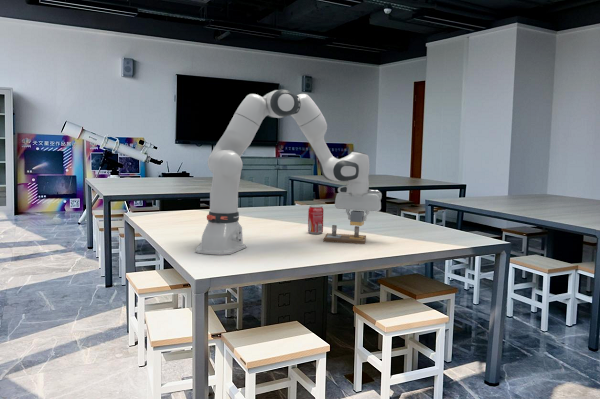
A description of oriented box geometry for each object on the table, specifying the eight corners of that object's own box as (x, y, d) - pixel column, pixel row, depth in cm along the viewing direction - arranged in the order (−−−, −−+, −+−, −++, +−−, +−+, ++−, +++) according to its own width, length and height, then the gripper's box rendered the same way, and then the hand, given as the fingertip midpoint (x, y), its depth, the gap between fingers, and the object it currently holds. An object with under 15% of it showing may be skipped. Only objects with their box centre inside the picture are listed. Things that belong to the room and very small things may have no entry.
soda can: (325, 233, 237) (326, 206, 235) (315, 235, 232) (316, 207, 230) (314, 231, 242) (315, 204, 240) (304, 232, 237) (305, 205, 235)
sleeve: (361, 226, 218) (361, 212, 217) (350, 225, 220) (350, 211, 219) (363, 224, 222) (364, 211, 222) (352, 223, 224) (353, 210, 224)
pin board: (364, 244, 214) (365, 229, 214) (323, 241, 217) (323, 227, 216) (365, 238, 228) (366, 224, 227) (326, 235, 231) (327, 222, 230)
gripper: (383, 189, 219) (381, 220, 220) (338, 187, 226) (337, 217, 227) (380, 190, 213) (379, 222, 214) (334, 188, 220) (333, 219, 221)
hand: (357, 220), depth 221 cm, fingers closed on sleeve, 5 cm apart
